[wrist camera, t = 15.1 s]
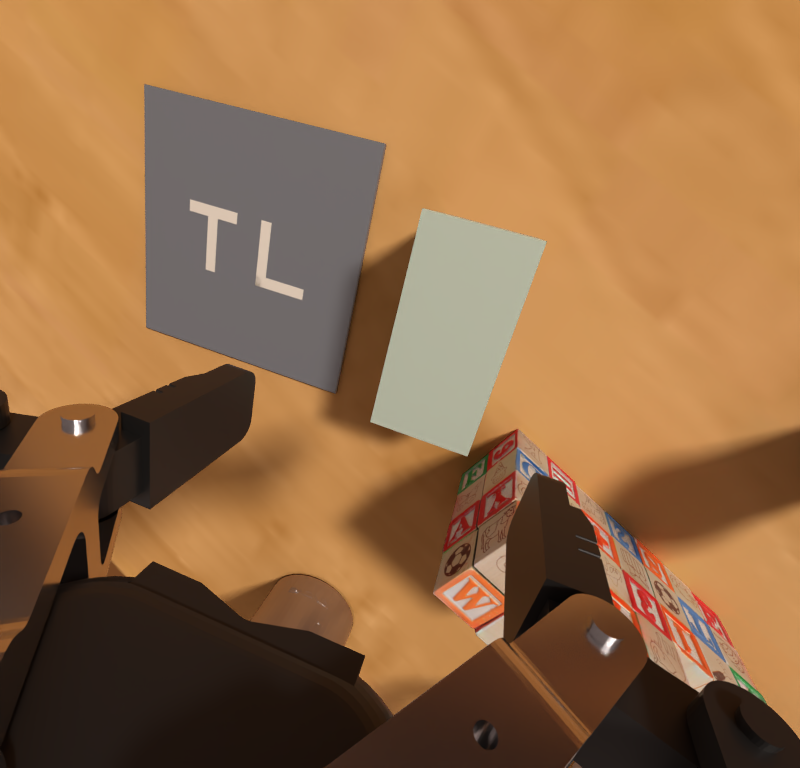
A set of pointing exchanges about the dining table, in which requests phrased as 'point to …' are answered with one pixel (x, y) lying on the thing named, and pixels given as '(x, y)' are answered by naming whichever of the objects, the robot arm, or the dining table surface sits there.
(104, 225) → the dining table surface
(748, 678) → the stack of blocks
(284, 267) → the gray tile
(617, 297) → the dining table surface
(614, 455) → the dining table surface
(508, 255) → the sage block
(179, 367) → the dining table surface
